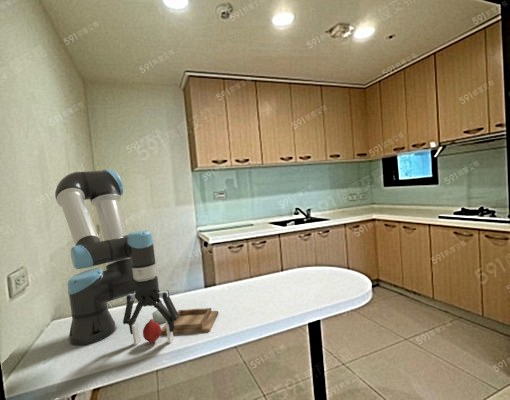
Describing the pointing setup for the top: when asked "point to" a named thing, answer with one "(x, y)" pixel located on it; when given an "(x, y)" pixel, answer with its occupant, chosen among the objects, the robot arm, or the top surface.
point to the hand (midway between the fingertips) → (153, 341)
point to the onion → (151, 331)
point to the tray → (193, 321)
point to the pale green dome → (158, 317)
